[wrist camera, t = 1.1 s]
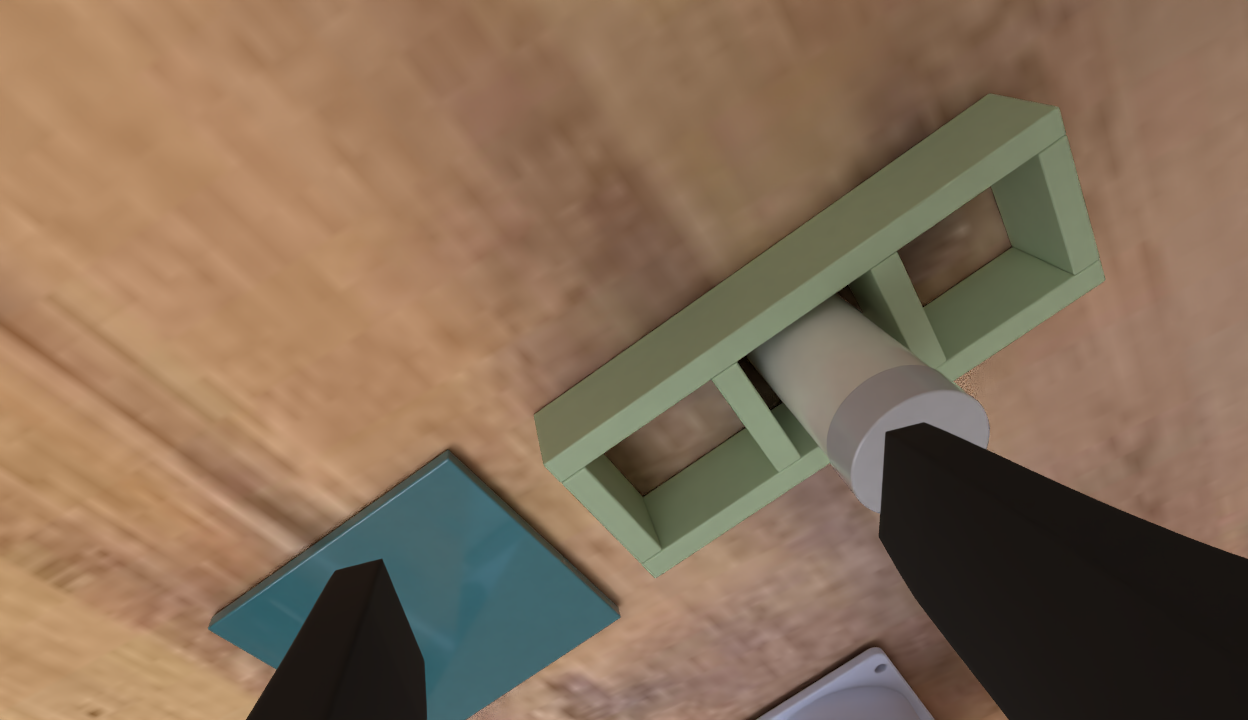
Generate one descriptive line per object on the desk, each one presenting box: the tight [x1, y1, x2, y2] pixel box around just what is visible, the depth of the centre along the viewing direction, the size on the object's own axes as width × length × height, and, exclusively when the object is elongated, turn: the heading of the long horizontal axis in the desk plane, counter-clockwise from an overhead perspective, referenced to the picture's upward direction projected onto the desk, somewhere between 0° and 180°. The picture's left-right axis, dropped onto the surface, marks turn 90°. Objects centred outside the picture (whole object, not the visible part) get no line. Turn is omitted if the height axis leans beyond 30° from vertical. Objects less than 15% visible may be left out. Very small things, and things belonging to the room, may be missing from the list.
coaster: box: [208, 450, 621, 720], centre depth 23 cm, size 9×9×1 cm
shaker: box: [747, 293, 990, 513], centre depth 18 cm, size 3×3×6 cm
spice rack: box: [534, 93, 1105, 578], centre depth 20 cm, size 6×15×2 cm, turn 124°
